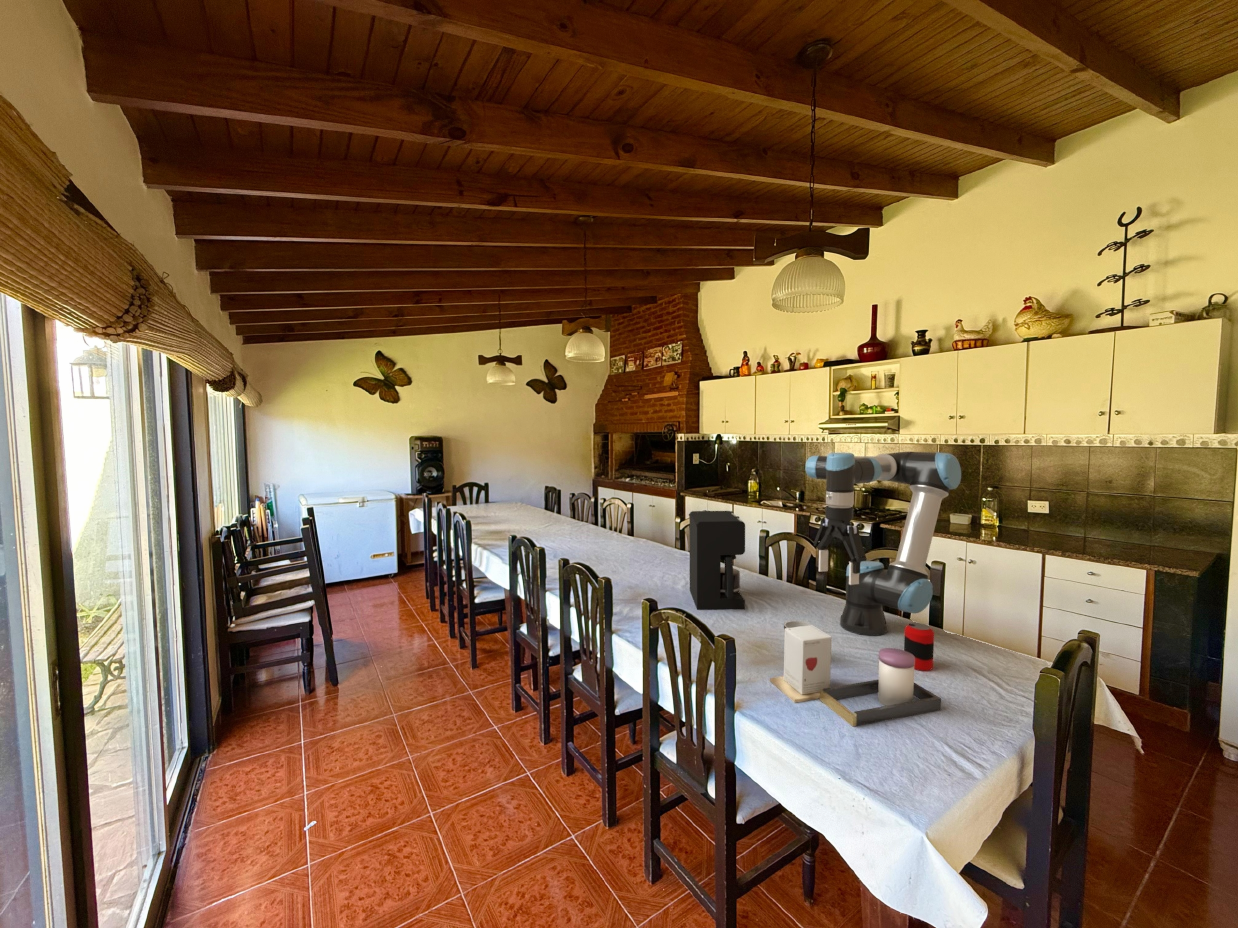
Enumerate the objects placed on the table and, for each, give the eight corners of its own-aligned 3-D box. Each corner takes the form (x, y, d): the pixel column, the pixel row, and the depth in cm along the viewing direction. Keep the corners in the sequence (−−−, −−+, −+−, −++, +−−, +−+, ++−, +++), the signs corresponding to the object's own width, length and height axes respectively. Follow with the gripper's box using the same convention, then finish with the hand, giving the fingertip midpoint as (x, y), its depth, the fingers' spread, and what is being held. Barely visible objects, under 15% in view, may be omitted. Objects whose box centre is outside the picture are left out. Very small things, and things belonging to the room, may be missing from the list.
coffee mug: (815, 664, 157) (815, 632, 157) (785, 662, 159) (785, 630, 158) (809, 648, 169) (809, 618, 168) (781, 646, 171) (781, 616, 170)
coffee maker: (749, 613, 200) (749, 522, 198) (697, 613, 201) (697, 522, 198) (733, 589, 228) (734, 510, 226) (688, 590, 229) (688, 510, 226)
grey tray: (902, 685, 144) (902, 675, 144) (940, 709, 132) (941, 698, 132) (819, 700, 138) (820, 689, 137) (852, 726, 126) (853, 714, 125)
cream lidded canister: (896, 691, 141) (897, 646, 140) (921, 707, 133) (922, 659, 132) (870, 696, 139) (871, 650, 138) (894, 712, 131) (895, 663, 130)
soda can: (903, 657, 161) (904, 619, 160) (931, 662, 158) (933, 623, 157) (904, 668, 155) (905, 628, 154) (934, 673, 151) (935, 632, 150)
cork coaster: (807, 675, 151) (807, 672, 151) (834, 695, 140) (834, 692, 140) (769, 680, 148) (769, 678, 148) (794, 702, 136) (794, 699, 136)
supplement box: (801, 695, 138) (802, 640, 137) (782, 679, 147) (783, 627, 146) (831, 690, 141) (832, 636, 139) (811, 675, 149) (811, 623, 148)
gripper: (802, 500, 164) (801, 567, 166) (858, 513, 140) (856, 591, 142) (823, 499, 166) (822, 565, 168) (881, 511, 142) (879, 588, 144)
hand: (837, 577), depth 155 cm, fingers open, 13 cm apart
